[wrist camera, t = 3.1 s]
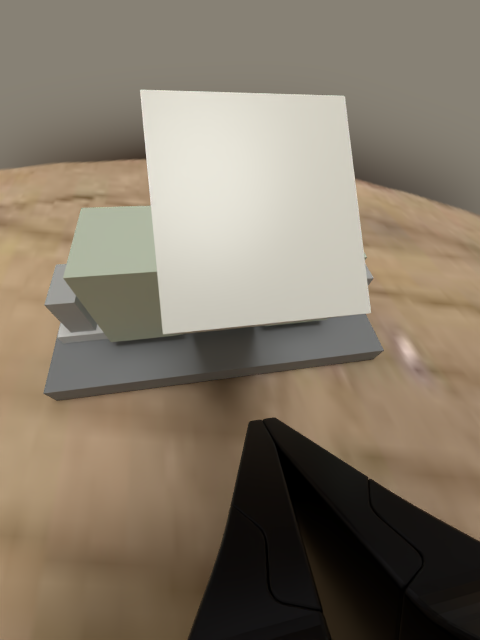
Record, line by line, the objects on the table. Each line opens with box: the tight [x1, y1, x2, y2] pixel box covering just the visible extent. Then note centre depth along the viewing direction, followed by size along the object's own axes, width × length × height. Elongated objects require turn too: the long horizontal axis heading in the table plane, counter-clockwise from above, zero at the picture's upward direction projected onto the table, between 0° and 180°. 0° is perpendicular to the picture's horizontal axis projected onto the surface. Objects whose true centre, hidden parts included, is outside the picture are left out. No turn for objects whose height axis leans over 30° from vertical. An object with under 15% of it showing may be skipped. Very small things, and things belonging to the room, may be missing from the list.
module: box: [140, 90, 371, 334], centre depth 11 cm, size 5×4×12 cm
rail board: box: [44, 206, 384, 400], centre depth 17 cm, size 9×22×8 cm, turn 99°
